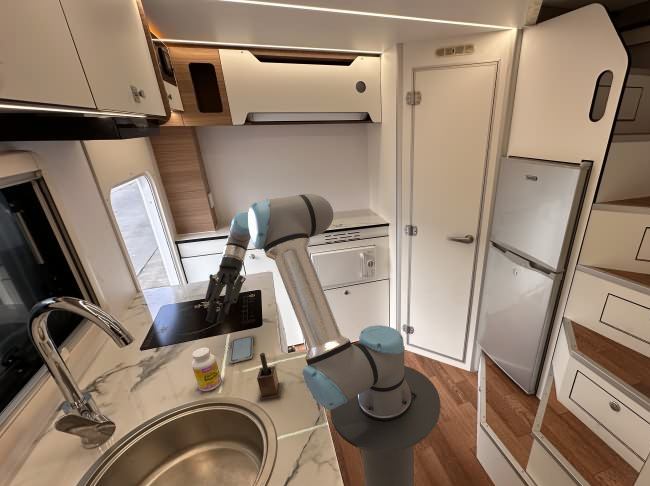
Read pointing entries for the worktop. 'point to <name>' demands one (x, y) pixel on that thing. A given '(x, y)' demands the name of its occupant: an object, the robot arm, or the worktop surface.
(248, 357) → the smartphone
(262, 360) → the stylus
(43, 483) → the worktop surface
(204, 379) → the supplement bottle
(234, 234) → the robot arm
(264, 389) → the pen holder
